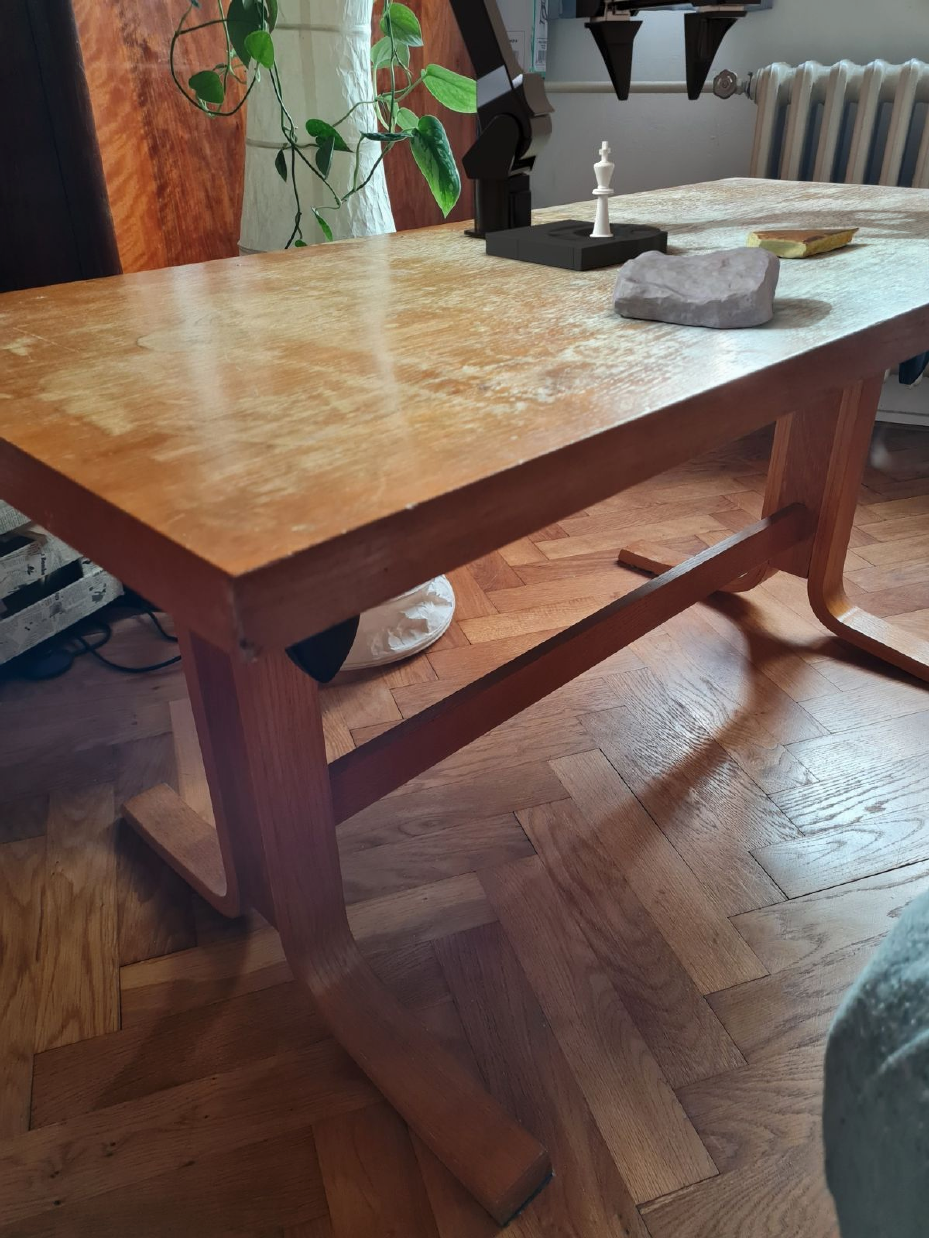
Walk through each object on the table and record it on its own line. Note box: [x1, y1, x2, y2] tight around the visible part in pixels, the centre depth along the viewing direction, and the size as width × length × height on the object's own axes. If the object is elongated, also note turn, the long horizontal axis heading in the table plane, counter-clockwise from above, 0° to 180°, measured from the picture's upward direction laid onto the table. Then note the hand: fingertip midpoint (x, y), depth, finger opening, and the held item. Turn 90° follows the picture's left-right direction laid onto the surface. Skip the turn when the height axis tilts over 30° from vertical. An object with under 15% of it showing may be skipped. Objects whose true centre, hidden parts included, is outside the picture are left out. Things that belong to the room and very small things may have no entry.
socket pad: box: [485, 218, 669, 272], centre depth 90 cm, size 15×14×2 cm
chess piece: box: [590, 140, 616, 237], centre depth 88 cm, size 5×5×10 cm
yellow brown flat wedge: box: [745, 227, 860, 259], centre depth 86 cm, size 11×8×2 cm
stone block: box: [612, 246, 781, 329], centre depth 67 cm, size 12×5×10 cm
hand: (656, 100), depth 89 cm, fingers open, 9 cm apart
